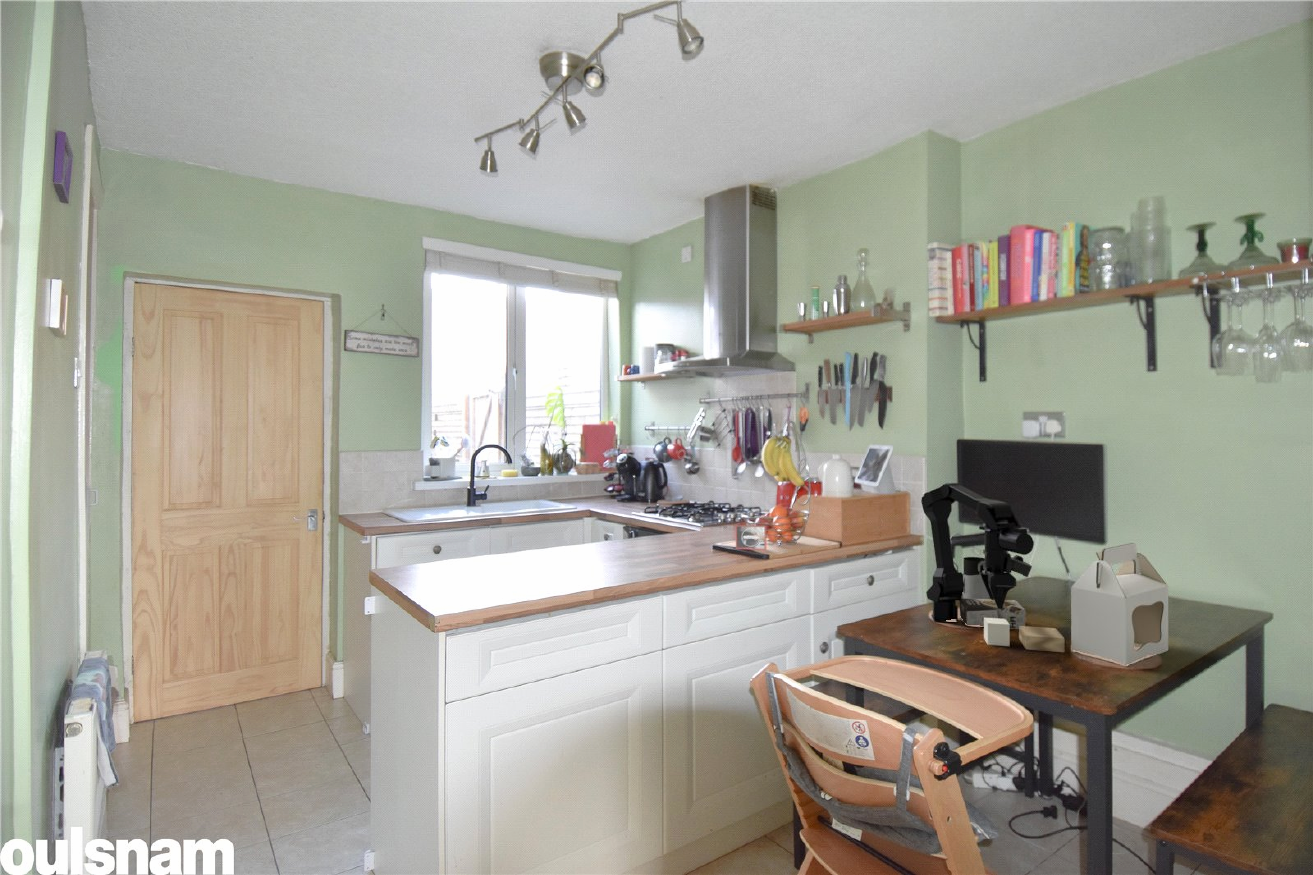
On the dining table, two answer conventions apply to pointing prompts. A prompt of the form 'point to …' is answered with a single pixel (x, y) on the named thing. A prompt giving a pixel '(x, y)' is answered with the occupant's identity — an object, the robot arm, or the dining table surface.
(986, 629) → the off-white plain cube
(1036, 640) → the oak block
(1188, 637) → the dining table surface
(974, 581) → the glass holder
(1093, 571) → the gable box
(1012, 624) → the coffee box
